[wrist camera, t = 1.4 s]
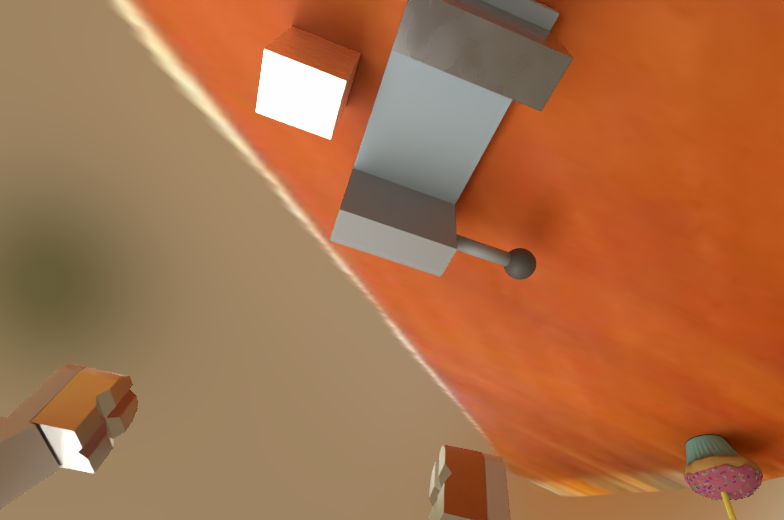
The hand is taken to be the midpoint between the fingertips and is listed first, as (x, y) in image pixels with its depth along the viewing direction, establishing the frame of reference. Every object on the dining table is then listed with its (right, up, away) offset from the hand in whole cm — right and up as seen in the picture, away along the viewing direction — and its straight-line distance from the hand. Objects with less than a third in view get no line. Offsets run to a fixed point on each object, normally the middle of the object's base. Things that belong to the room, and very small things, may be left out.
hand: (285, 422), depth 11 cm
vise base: (+10, +14, +22) cm, 28 cm away
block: (-3, +18, +20) cm, 27 cm away
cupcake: (+47, -21, +48) cm, 70 cm away
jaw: (+8, +19, +16) cm, 26 cm away
